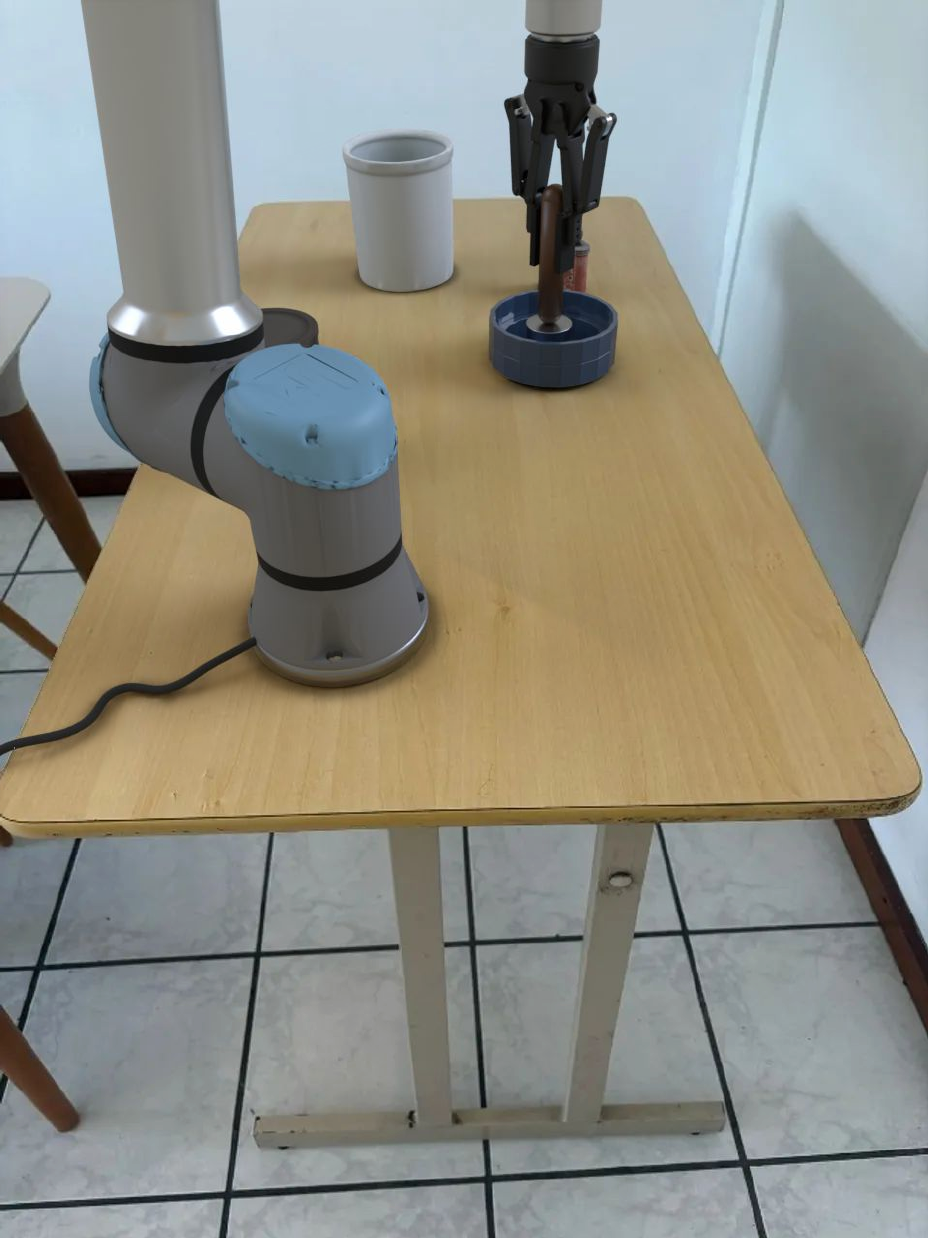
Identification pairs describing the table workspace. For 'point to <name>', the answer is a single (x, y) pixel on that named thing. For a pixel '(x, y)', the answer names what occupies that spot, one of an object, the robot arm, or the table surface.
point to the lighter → (578, 268)
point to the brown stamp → (549, 277)
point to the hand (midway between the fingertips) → (551, 265)
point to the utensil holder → (401, 207)
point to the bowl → (553, 360)
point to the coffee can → (289, 327)
